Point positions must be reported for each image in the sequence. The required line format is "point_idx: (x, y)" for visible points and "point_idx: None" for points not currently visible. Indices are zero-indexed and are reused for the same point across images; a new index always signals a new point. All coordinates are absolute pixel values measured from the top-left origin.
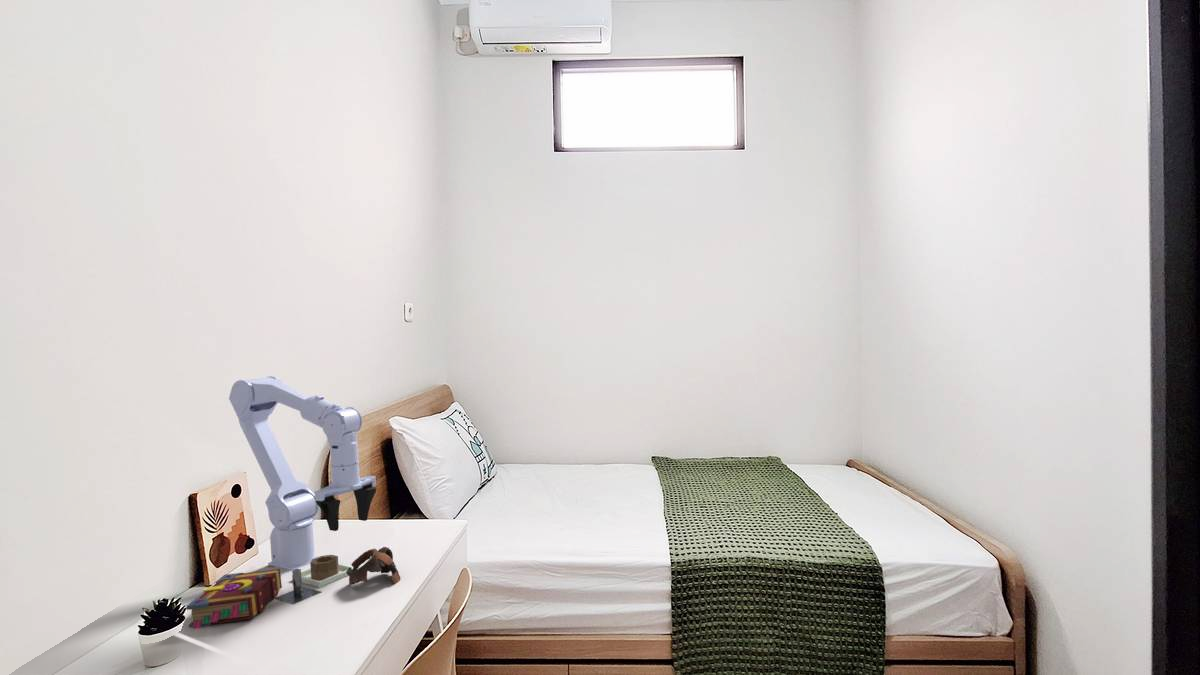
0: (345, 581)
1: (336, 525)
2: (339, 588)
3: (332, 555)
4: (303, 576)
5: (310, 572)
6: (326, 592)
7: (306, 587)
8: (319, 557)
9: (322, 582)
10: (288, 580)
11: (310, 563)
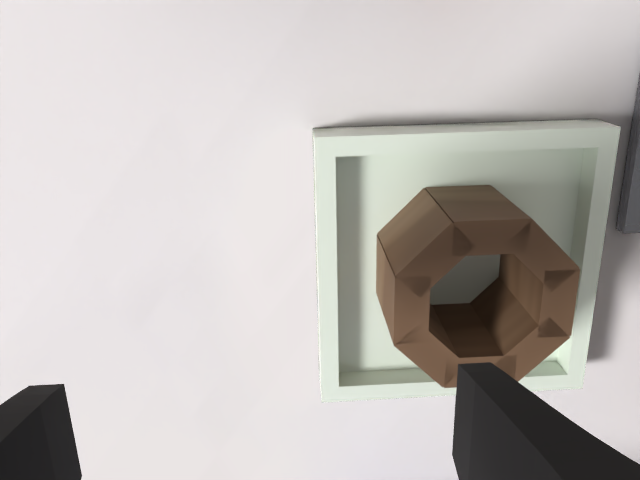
0: (431, 89)
1: (514, 386)
2: (533, 17)
3: (402, 324)
4: None
5: None
6: (611, 40)
7: (627, 199)
8: None
9: (593, 125)
10: None
11: (569, 331)
